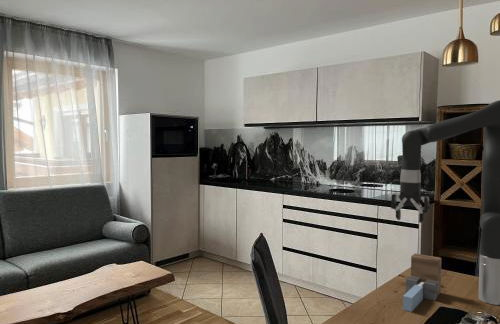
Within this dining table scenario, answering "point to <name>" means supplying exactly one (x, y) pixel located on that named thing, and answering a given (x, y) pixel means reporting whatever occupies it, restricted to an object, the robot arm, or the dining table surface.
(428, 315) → the dining table surface
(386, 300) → the dining table surface
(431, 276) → the brown and grey stand
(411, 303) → the blue and white bar
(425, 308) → the dining table surface
